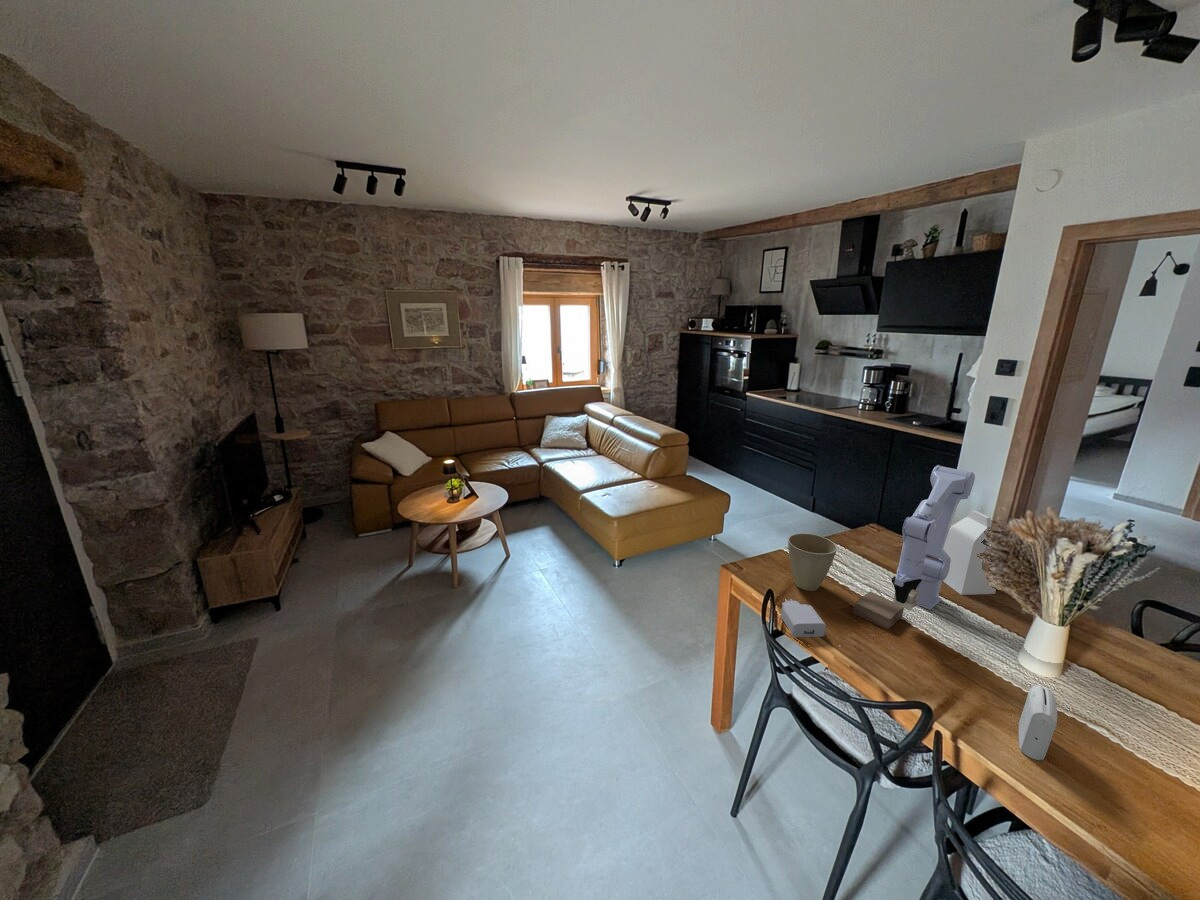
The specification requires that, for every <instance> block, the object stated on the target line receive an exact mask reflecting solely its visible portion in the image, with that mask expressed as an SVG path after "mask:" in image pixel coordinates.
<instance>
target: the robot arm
mask: <svg viewBox="0 0 1200 900" xmlns="http://www.w3.org/2000/svg"><path fill="white" fill-rule="evenodd" d="M975 479H976V475H975V474H974V472H973V471H965V470H961V469H956V468H953V467H952V468H951V467H946V466H942V465H939V464H937V465H935V466H934V468H933V469H932V471H931V474H930V483H931V487H932V488H931V489H932V490H931V492H930V494H929V496H928V498H927V499H924V500H921V501H920V503H919V504H918V506H917V507H916V509H915V511H914V512H913V514H912V516H910V517H909V516H907V517H906V518H905V519H904V522H903V525H902V528H901V529H902V531H901V533H902V538H901V540H902V547H901V552H900V555H899V562H898V566H897V568H896V576H893V577H892V578H891V583H892V585H893V587H894V595H895V594H896V601H898V602H900V603H903V604H904V603H905V602H906V600H907V598H908V595H909V593H910V592H911V590H912V589H914V590H916V591H919V594H918V599H917V603H916V606H920V607H922V608H924V609H926V610H929V611H931V610H933V608H935V606H936V605H938V604H939V603H940V602H941V601H942V597H940V596H939V595H940V592H941V586H942V582H943V580H945V579H946V577H947V575H948V572H949V569H950V563H951V559H950V557H949V555H948V554H947V553H946V552H945V551H944V550H943V547H944V544H945V541H946V538H947V535H948V532H949V529H950V527H951V526H952V522H953V520H954V517H955V513H956V512H957V511H956V510H957V507H958V505H959V503H960V501H961V500H967V499H968V498H969V496H970V495H971V493H972V491H973V490H972V489H973V486H974V483H975ZM939 558H940V559H941V560H939Z"/></svg>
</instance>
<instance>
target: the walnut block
mask: <svg viewBox="0 0 1200 900" xmlns="http://www.w3.org/2000/svg"><path fill="white" fill-rule="evenodd" d="M853 604H854V605H853V609H852V613H853V614H854V615H856V616H858V617H860V618H862V619H865V620H866V621H868V622H871V623H872V624H875V625H877V626H879V627H881V628H883V629H885V630H889V629H890V628H891V627H893V626H894V625H895V624H896V623H897V622H898V621H899V620H901V619H902V618H903V615H904V611H905V608H902V607H900V606H898V605H896V604H893V601H892V600H890V599H888V598H885V597H884V596H881V595H878V594H877V593H874V592H872V591H869V592H867V593H865V594H864V595H863V596H862V597H860V598H859V599H858V600H856V601H855V602H854V603H853Z"/></svg>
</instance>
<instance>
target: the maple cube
mask: <svg viewBox="0 0 1200 900" xmlns="http://www.w3.org/2000/svg"><path fill="white" fill-rule="evenodd" d="M918 594H919V591H916V590H914V589H912V590H911V592H910V593H909V595H908V598H907V600H906V602H905V603H904V604H903V603H900V602H898V601H896V594H895V593H894V596H893V604H896V605H898V606H900V607H902V608H904V610H908V611H911V610H912V609H914V607H916V606H917V604H916V603H917V599H918Z"/></svg>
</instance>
